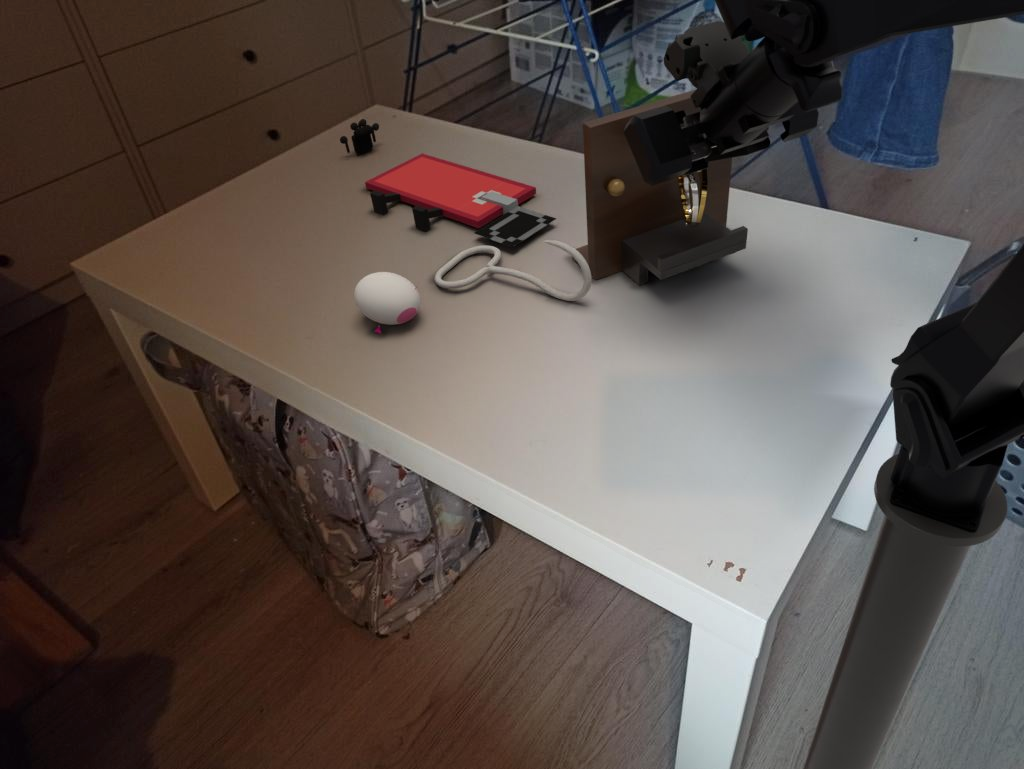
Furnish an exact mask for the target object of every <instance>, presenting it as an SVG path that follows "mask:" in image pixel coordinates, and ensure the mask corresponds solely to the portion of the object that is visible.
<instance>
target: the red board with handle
mask: <svg viewBox="0 0 1024 769" xmlns="http://www.w3.org/2000/svg"><path fill="white" fill-rule="evenodd" d="M364 185H365V188H366V189H368V190H369V191H371V192H370V193H369V195H370V199H371V203H372V208H373V213H376V214H378V215H381V216H385V215H387V214H388V213H389V209H388V204H390V203H395V202H404V203H407V204H410V205H412V206H414V207H412V208H411V210H412V211H411V212H412V214H413V215H412V216H413V220H414V226H415V229H418V230H421V231H423V232H427V231H429V230H430V229H431V228H432V227H431V222H430V221H431V220H430V219H435V218H438V217H439V218H440V217H446V218H449V219H451V220H455V221H457V222H460V223H463V224H465V225H468V226H472V227H474V228H477V230H476V231H474V232H473V234H475V235H476V236H477V235H478V236H480V237H483V238H485V239H488V240H492V241H493V242H497V243H500V244H502V245H505V246H508V247H511V248H513V247H514V246H515V247H516V246H517V245H518V244H520V243H521V242H523V241H525V240H526V239H527V238H529V237H530V236H532V235H534V234H535V233H536V232H539V231H540V230H541V229H543V228H544V227H546V226H547V225H549V224H551V223H553V222H554V221H556V220H557V218H556V217H554V216H551V215H547V214H545V213H541V212H537V211H534V210H531V209H528V208H525V207H522V206H519V205H520V204H522V203H523V202H525V201H527V200H529V199H531V198H532V197H533V196H535V195H537V190H536V189H537V187H536V186H533V185H531V184H526V183H522V182H519V181H516V180H512V179H509V178H507V177H503V176H499V175H496V174H493V173H489V172H485V171H483V170H479V169H476V168H473V167H470V166H466V165H464V164H463V165H462V164H459V163H456V162H452V161H449V160H445V159H443V158H440V157H436V156H432V155H430V154H425V153H420V154H418V155H416V156H414V157H412V158H410V159H408V160H405V161H404V162H402V163H400V164H398V165H396V166H394V167H392V168H390V169H388V170H386V171H383V172H382V173H380V174H378V175H376V176H375V177H372V178H370V179H368V180H366V181H364Z"/></svg>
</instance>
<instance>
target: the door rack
mask: <svg viewBox="0 0 1024 769" xmlns="http://www.w3.org/2000/svg"><path fill="white" fill-rule="evenodd" d="M696 89H697V88H695V89H693V90H689V91H686V92H682V93H678V94H676V95H671V96H669V97H665V98H662V99H659V100H656V101H651V102H649V103H645V104H642V105H639V106H634V107H632V108H631V107H630V108H628V109H625V110H622V111H621V110H620V111H618V112H615V113H611V114H608V115H604V116H601V117H598V118H595V119H590V120H588V121H584V122H582V138H583V139H582V140H583V161H584V164H583V165H584V188H585V208H586V210H585V211H586V212H585V213H586V235H587V236H586V237H587V244H585V245H583V246H580V247H577V248H575V249H576V250H577V251H578V252H579V253H580V254H581V255H582V256H583V257H584V259H585V260H586V262H587V264H588V266H589V268H590V272H591V278H593V279H594V280H595V281H597V280H600V279H603V278H605V277H608V276H611V275H614V274H617V273H619V272H623V273H624V274H625V275H627V276H628V277H629V278H630V279H631V280H632V281H634V283H636V284H637V285H638V286H641V285H643V284H646V283H648V282H649V271H650V272H651V273H652V274H653V275H655V277H657V278H658V279H659V280H661V281H662V280H665V279H667V278H670V277H672V276H675V275H678V274H681V273H684V272H687V271H689V270H691V269H694V268H697V267H700V266H703V265H705V264H708V263H710V262H713V261H716V260H718V259H721V258H724V257H726V256H729V255H732V254H735V253H738V252H740V251H743V250H746V248H747V242H748V241H747V240H748V231H749V228H748V227H746V226H744V225H742V226H739V227H736V228H734V229H729V228H728V227H727V221H728V211H729V201H730V200H729V198H730V188H731V176H732V174H731V173H732V165H733V164H732V163H733V158H727V159H721V160H716V161H710V162H709V163H708V168H707V194H706V201H705V207H704V211H703V215H702V218H701V221H700V223H699V225H698V226H697V227H687V226H686V225H685V218H684V214H683V209H682V203H681V197H680V190H679V183H678V177H677V178H675V179H672V180H669V181H666V182H663V183H659V184H656V185H653V186H651V185H649V184H647V183H645V182H644V179H643V177H642V175H641V172H640V170H639V168H638V165H637V163H636V160H635V158H634V156H633V153H632V151H631V149H630V146H629V144H628V142H627V139H626V137H625V134H624V132H623V131H624V129H625V126H626V124H627V123H628V122H629V121H630V119H631V118H632V117H633V116H634V115H636V114H639V113H643V112H646V111H649V110H653V109H656V108H659V107H663V106H667V107H669V108H671V109H672V110H674V113H675V112H678V111H681V110H684V111H685V113H686V116H687V115H690V114H694V113H697V112H700V111H701V108H700V107H698V108H695V106H694V104H693V101H692V99H691V97H690V96H691V95H692V94H693V93H694V91H695V90H696ZM704 139H705V138H704ZM698 173H699V172H694V173H693V175H694V177H695V180H696V184H697V189H698V204H699V198H700V178H699V174H698ZM683 177H684V175H683ZM688 185H689V200H690V207H691V212H692V210H693V197H692V190H691V185H690V182H689V184H688ZM571 260H573V261H574V262H575V263H576V264H578V262H577V261H576V260H575V259H574V258H573V257H572V256H571Z"/></svg>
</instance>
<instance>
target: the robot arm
mask: <svg viewBox="0 0 1024 769" xmlns="http://www.w3.org/2000/svg"><path fill="white" fill-rule="evenodd" d="M714 2H715V5H716V7H717V9H718V11H719V15H720V16H721V19H722V21H721V20H720V21H713V22H708V23H705V24H701V25H698V26H693V27H690V28H687V29H686V30H684V32H683V33H680V34H677V35H675V38H674V40H673V41H672V42H669V43H668V45H667V48H666V50H665V53H664V56H663V65H664V67H665V68H666V69H667V71H668V72H669V74H670V75H671V77H672V78H673V79H674V80H675V81H682V80H686V79H687V80H688V81H689V82H690V84H691V85H692V86H693V87H694V88H695V89H696V90H695V89H694V90H695V91H694V93H693V94H692V95H691V96H690V97H691V99H692V101H693V104H694V106H695V108H698V107H700V108H701V111H700V112H697V113H694V114H690V115H687V116H686V113H685V111H684V110H681V111H678V112H675V113H674V110H672V109H671V108H669V107H667V106H663V107H659V108H656V109H653V110H649V111H646V112H643V113H639V114H636V115H634V116H633V117H632V118H631V119H630V121H629V122H628V123H627V124H626V126H625V129H624V131H623V132H624V134H625V137H626V139H627V142H628V144H629V146H630V149H631V151H632V153H633V156H634V158H635V160H636V163H637V165H638V168H639V170H640V172H641V175H642V177H643V179H644V182H645V183H647V184H649V185H651V186H653V185H656V184H659V183H663V182H666V181H669V180H672V179H675V178H677V177H679V176H681V175H688V174H691V173H694V172H697V171H700V170H703V169H706V168H708V165H707V162H706V160H705V158H707V159H708V162H710V161H716V160H721V159H727V158H732V159H733V158H738V157H745V156H748V155H752V154H755V153H757V152H762V151H763V150H767V149H769V147H770V146H771V140H770V134H769V132H768V131H769V128H770V127H771V126H773V125H777V124H779V123H781V124H782V126H783V128H784V131H783V132H782V133H781V134H779V137H780V138H781V141H782V142H783V143H787V142H789V141H792V140H793V141H794V140H795V139H799V138H802V137H805V136H807V135H808V134H809V133H811V132H812V131H813V130H815V129H817V127H818V121H819V115H820V114H819V113H820V112H819V109H821V108H823V107H827V106H830V105H833V104H837V103H839V102H841V101H842V99H843V85H842V83H841V77H842V71H841V70H840V69H837V68H835V65H834V61H837V60H840V59H843V58H847V57H850V56H853V55H856V54H859V53H864V52H867V51H869V50H874V49H876V48H879V47H882V46H884V45H887V44H889V43H891V42H894V41H896V40H899V39H901V38H904V37H907V36H908V35H911V34H912V33H913V34H914V33H920V32H926V31H932V30H938V29H943V28H950V27H957V26H962V25H967V24H968V25H969V24H974V23H981V22H986V21H992V20H998V19H1004V18H1005V19H1006V18H1010V17H1017V16H1024V0H714ZM743 36H744V39H745V41H746V42H754V41H758V40H760V41H759V42H758V43H757V44H756V45H755V47H754V48H753V49H752V50H751V51H750V52H749V48H748V46H747V45H746V44H745V43H744V42H743V40H742V39H741V38H740V37H743ZM704 138H705V139H704ZM890 361H891V363H892V364H894V365H896V367H895V368H894V370H893V372H892V374H891V377H890V382H889V385H890V388H891V389H892V404H893V415H894V418H893V419H894V429H895V430H894V431H895V441H896V442H897V443H898V444H899V445H900V447H899V451H898V453H897V454H898V457H897V460H896V463H895V466H894V469H893V473H892V476H891V479H890V480H891V481H892V483H895V487H894V489H893V492H892V494H891V497H890V503H891V504H892V505H894V506H897V507H899V508H902V509H905V510H908V511H911V512H914V513H917V514H919V515H922V516H925V517H928V518H931V519H934V520H937V521H939V522H942V523H945V524H948V525H951V526H954V527H956V528H959V529H962V530H965V531H968V532H972V533H973V532H976V531H977V530H978V528H979V525H980V521H981V518H982V514H983V511H984V507H985V504H986V501H987V498H988V496H989V494H990V492H991V489H992V487H993V485H994V482H995V480H996V481H997V479H998V475H999V473H1000V471H1001V470H1002V469H1001V468H1002V467H1003V464H1004V460H1005V456H1006V453H1007V450H1008V446H1009V444H1012V443H1014V442H1015V441H1017V440H1022V439H1024V243H1023V244H1022V246H1020V248H1019V249H1018V250H1017V251H1016V253H1015V254H1014V255H1013V256H1012V258H1011V259H1010V260H1009V262H1008V263H1007V264H1006V265H1005V266H1004V267H1003V269H1001V272H1000V273H999V274H998V276H996V278H995V279H994V280H993V281H992V283H991V284H990V285H989V286H988V288H987V289H986V290H985V292H983V294H982V295H981V296H980V298H979V299H978V300H977V302H974V303H972V304H968V305H967V306H964V307H961V308H960V309H957V310H955V311H953V312H951V313H948V314H945V315H944V316H942V317H939V318H936V319H934V320H932V321H930V322H927V323H925V324H922V325H921V326H918V327H917V328H916V329H915V331H914V332H913V333H912V335H910V338H909V340H908V342H907V344H906V347H905V348H904V350H903V351H902V352H901V353H900V354H899V355H897V356H895V357H892V358H891V359H890ZM895 499H897V500H899V501H896V500H895ZM969 525H972V526H973V527H971V526H969Z"/></svg>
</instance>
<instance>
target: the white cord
mask: <svg viewBox="0 0 1024 769" xmlns="http://www.w3.org/2000/svg"><path fill="white" fill-rule="evenodd" d="M542 242H543V243H545V244H548V245H551V246H553V247H555V248H557V249H561V251H564V252H565V253H567V254H568V255H569V256H571V258H572V257H573V258H574V259H575V260H576V261H577V262H578V263H577V262H576V263H577V265H578V266H579V268H580V269H581V271H582V274H583V284H582V287H581V288H580V289H579V290H578V291H577V292H571V293H568V292H564V291H560V290H558V289H555V288H554V287H552V286H550V285H548V284H547V283H545V281H543V280H541V279H540V278H538V277H536V276H534V275H532V274H530V273H527V272H523V271H521V270H518V269H514V268H510V267H502V266H496V265H498V264H499V262H500V261H501V259H502V252H501V250H500V249H499V247H496V246H493V245H476V246H472V247H469V248H466V249H464V250H462V251H461V252H459V253H457V254H456V255H455V256H453V258H451V259H450V260H449V261H448V262H447V263H446V264H444V265H443V266H442V267H441V268H440V269H438V270H437V272H436V273H435V274H434V282H435V284H436V285H437V286H438V287H440V288H442V289H449V290H451V289H453V290H454V289H460V288H463V287H464V288H465V287H467V286H470V285H472V284H474V283H476V282H478V281H479V280H480V279H481V278H483V277H484V276H485V275H489V274H497V275H503V276H509V277H514V278H516V279H520V280H522V281H526V282H528V283H530V284H532V285H534V286H535V287H537V288H539V289H540V290H542V291H543V292H544V293H546V294H548V295H549V296H552V297H553V298H556V299H559V300H563V301H568V302H571V301H572V302H573V301H574V302H575V301H577V300H581V299H582V298H584V297H585V296H587V294H588V292H589V291H590V290H591V286H592V280H593V279H592V276H591V272H590V268H589V266H588V264H587V262H586V260H585V259H584V257H583V256H582V255H581V254H580V253H579V252H578V251H577V250H576V249H577V248H575V247H573V246H571V245H569V244H567V243H566V242H563V241H560V240H553V239H546V240H542ZM479 253H491V254H493V257H492V258H491V260H489V261H488V263H486V266H485V267H482V268H480V269H479V270H478V271H476V273H474V274H472V275H470V276H469V277H466V278H463V279H459V280H455V281H454V280H453V281H447V280H444V279H443V276H445V274H446V273H447V272H449V271H450V270H451V269H452V268H454V267H455V266H456V265H457V264H459V263H460V262H461V261H462V260H463V259H465V258H467V257H469V256H472V255H475V254H479Z"/></svg>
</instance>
